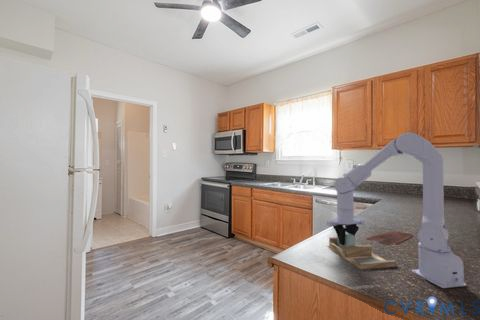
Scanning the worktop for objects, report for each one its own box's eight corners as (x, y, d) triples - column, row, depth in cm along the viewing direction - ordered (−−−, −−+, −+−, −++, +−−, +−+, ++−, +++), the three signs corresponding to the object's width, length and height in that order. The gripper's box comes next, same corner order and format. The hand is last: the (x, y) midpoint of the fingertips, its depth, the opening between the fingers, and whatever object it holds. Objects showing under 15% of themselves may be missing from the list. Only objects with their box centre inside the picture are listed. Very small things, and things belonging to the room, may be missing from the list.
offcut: (360, 249, 85) (360, 245, 85) (353, 250, 85) (353, 246, 85) (354, 246, 88) (354, 242, 88) (347, 246, 88) (347, 242, 88)
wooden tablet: (394, 228, 110) (417, 231, 102) (394, 233, 110) (418, 236, 101) (363, 238, 97) (387, 242, 88) (364, 243, 97) (388, 248, 88)
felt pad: (387, 265, 72) (387, 264, 72) (365, 267, 71) (365, 266, 71) (373, 257, 78) (373, 256, 78) (353, 259, 77) (353, 258, 77)
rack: (396, 267, 71) (396, 255, 71) (360, 271, 69) (360, 258, 69) (355, 245, 91) (355, 235, 91) (326, 247, 89) (326, 237, 89)
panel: (355, 255, 80) (354, 235, 80) (350, 255, 80) (350, 236, 80) (341, 246, 88) (341, 229, 88) (337, 247, 88) (337, 229, 88)
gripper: (355, 205, 89) (355, 239, 89) (322, 207, 87) (322, 241, 87) (367, 209, 82) (368, 245, 82) (332, 211, 80) (332, 248, 80)
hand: (345, 244), depth 84 cm, fingers open, 3 cm apart
